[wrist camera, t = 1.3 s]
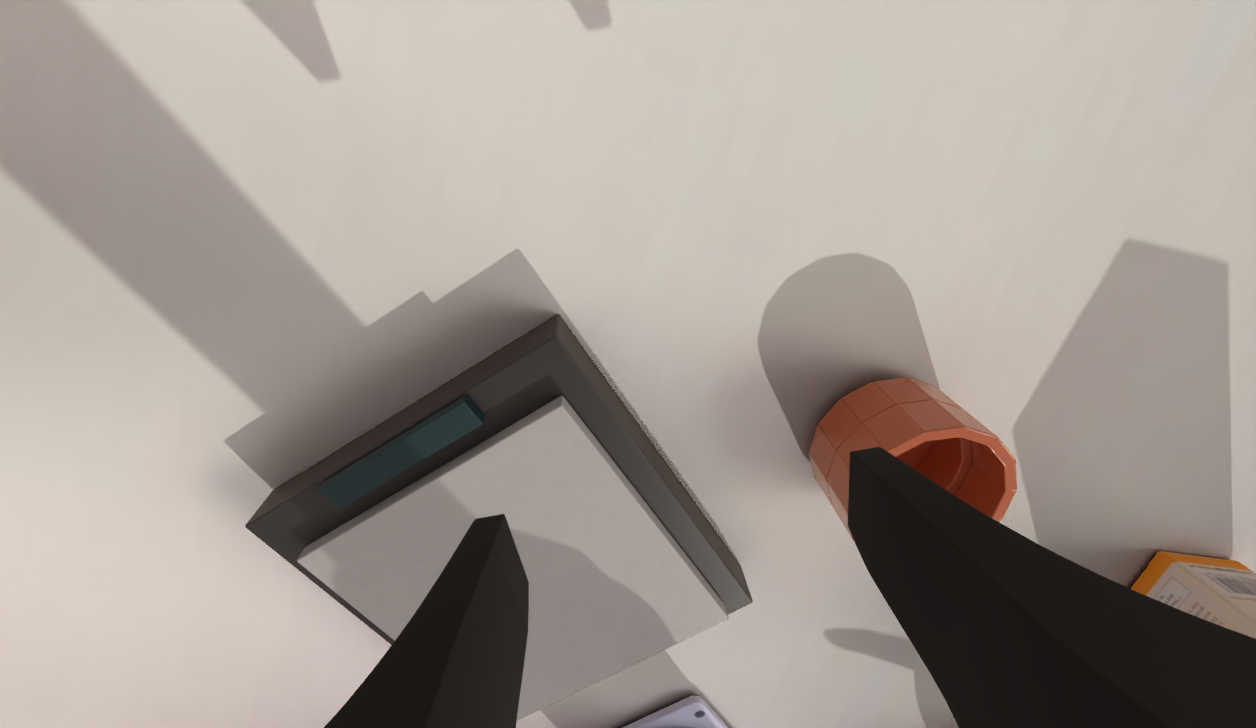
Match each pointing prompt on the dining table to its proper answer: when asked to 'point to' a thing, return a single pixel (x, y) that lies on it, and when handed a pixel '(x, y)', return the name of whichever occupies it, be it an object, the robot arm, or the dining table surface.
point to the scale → (516, 515)
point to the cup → (914, 444)
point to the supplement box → (1203, 588)
